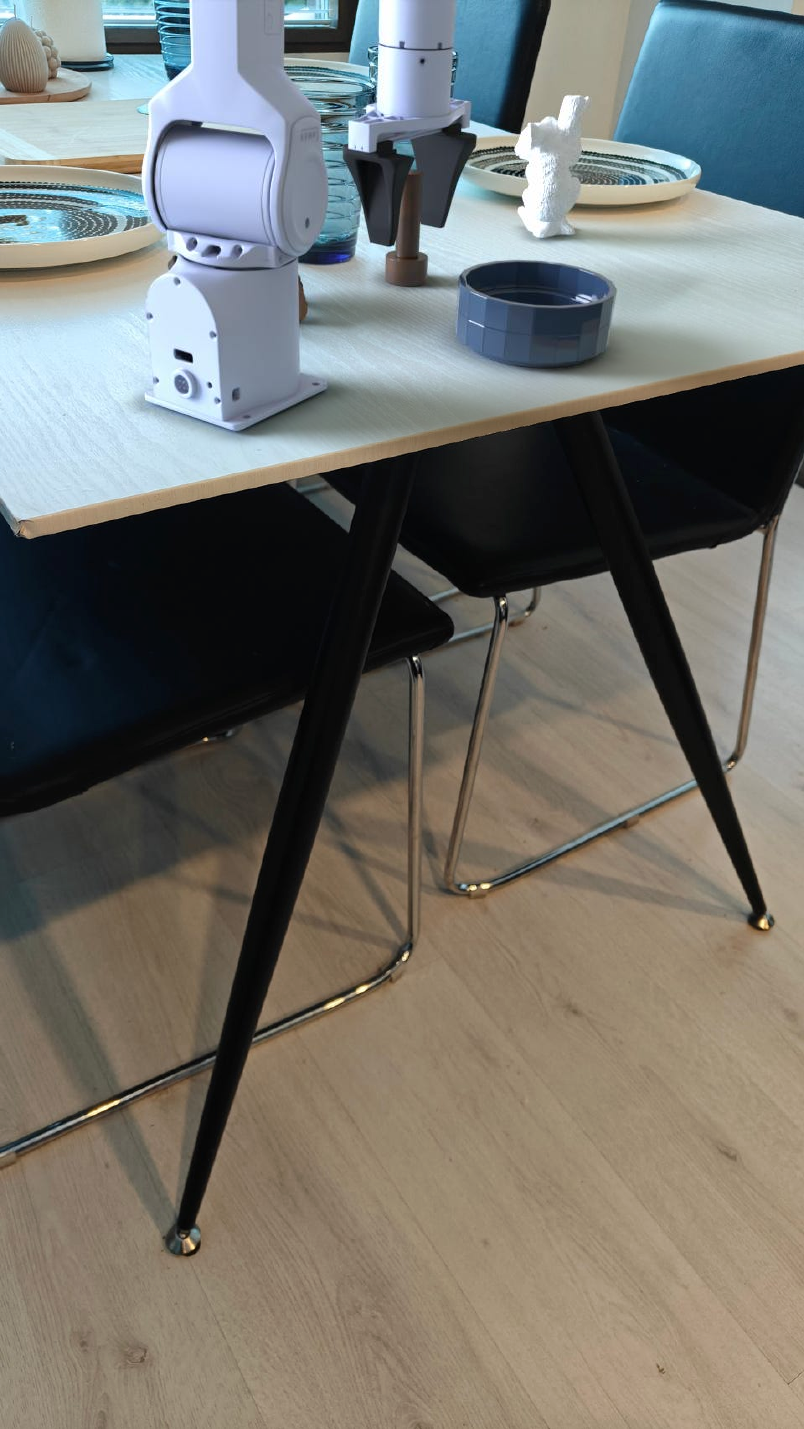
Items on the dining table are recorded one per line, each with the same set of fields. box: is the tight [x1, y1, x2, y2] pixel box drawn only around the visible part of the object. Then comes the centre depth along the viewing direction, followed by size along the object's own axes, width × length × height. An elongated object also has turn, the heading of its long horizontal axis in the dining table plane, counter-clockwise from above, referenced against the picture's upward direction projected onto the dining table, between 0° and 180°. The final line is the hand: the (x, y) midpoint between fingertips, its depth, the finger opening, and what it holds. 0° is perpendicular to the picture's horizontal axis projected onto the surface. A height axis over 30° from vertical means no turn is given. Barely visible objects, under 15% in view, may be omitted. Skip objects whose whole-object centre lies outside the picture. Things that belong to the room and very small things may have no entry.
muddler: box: [384, 168, 429, 287], centre depth 91 cm, size 4×4×8 cm
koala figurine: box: [514, 94, 593, 239], centre depth 104 cm, size 8×7×12 cm
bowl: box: [454, 259, 618, 369], centre depth 81 cm, size 11×11×4 cm
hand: (407, 234), depth 91 cm, fingers open, 7 cm apart
